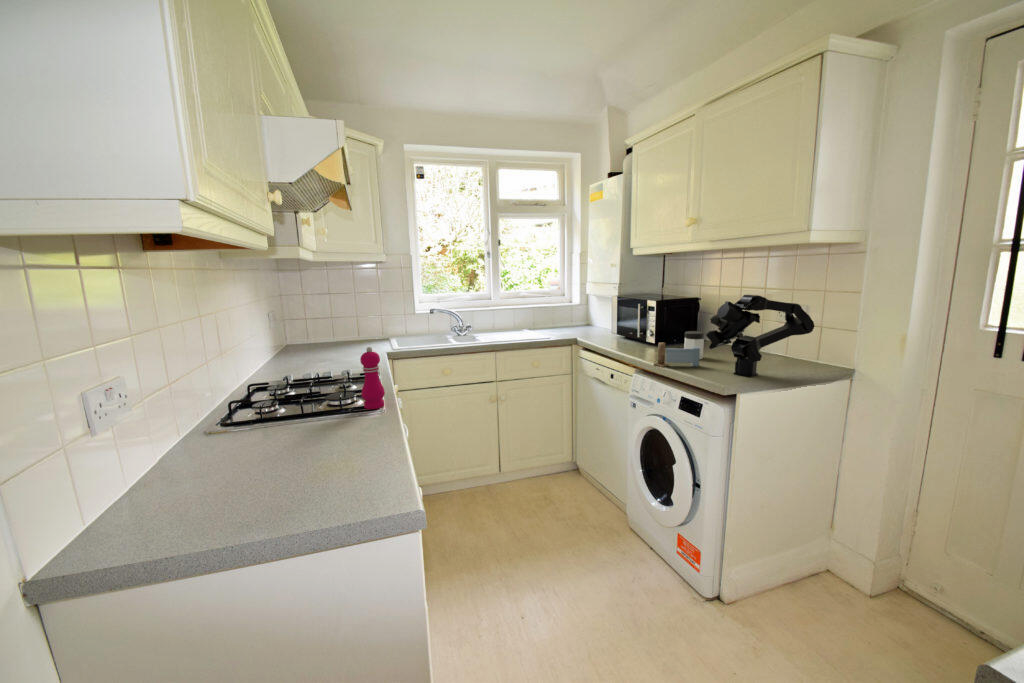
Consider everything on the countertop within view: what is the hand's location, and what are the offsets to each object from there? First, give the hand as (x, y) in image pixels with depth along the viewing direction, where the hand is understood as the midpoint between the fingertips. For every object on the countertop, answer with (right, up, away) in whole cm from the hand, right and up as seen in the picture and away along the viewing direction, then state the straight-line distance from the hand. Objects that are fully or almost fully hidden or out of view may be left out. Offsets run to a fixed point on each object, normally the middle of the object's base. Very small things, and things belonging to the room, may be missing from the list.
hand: (710, 348), depth 171 cm
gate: (-9, -8, +7) cm, 14 cm away
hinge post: (-17, -8, +9) cm, 21 cm away
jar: (+3, -5, +22) cm, 23 cm away
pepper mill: (-127, -19, -34) cm, 133 cm away
